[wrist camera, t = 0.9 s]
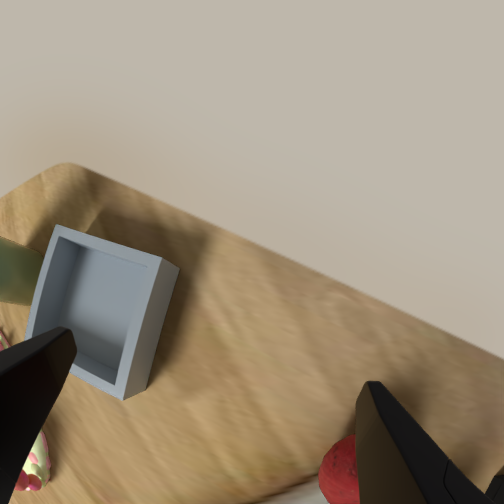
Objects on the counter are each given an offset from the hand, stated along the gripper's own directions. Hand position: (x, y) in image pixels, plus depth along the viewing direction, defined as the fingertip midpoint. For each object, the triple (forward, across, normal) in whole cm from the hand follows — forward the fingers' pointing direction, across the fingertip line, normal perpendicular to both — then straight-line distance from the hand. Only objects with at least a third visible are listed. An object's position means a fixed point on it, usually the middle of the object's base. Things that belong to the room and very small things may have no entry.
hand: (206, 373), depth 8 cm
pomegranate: (+6, -10, +14) cm, 19 cm away
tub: (+12, +11, +8) cm, 18 cm away
